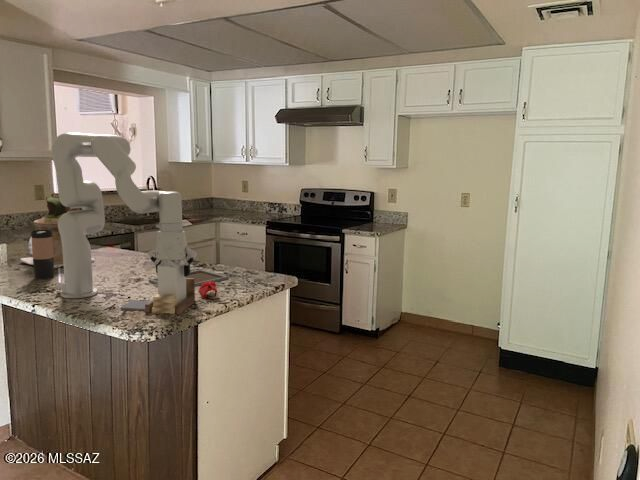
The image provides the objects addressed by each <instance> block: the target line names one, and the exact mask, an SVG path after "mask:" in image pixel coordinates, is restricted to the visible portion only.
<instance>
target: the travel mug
mask: <svg viewBox="0 0 640 480" xmlns="http://www.w3.org/2000/svg"><path fill="white" fill-rule="evenodd" d="M30 234H31V250H32V257H33V264H34V265H33V272H34V273H33V274H34V279H36V280H50V279H52V278H54V277H55V268H54V256H53V242H52V231H51V230H31V232H30Z"/></svg>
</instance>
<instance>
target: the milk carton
mask: <svg viewBox="0 0 640 480" xmlns="http://www.w3.org/2000/svg"><path fill="white" fill-rule="evenodd" d="M166 259H167V256H166ZM166 259H165V260H162V261H161V264H159V265H158V266H157V272H158V276H157V278H158V288H157V294H166V295H176V300H179V304H180V303H181V302H182V301H183V300H185V299H186V277H185V276H184V265H185V264H184V263H183V261H182V260H180V261H170V260H169V259H167V260H166Z"/></svg>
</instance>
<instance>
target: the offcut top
mask: <svg viewBox="0 0 640 480" xmlns="http://www.w3.org/2000/svg"><path fill="white" fill-rule="evenodd" d="M152 300H153V301H154V302H162V303H173V302H174V301H176V295H166V294H158V293H157V294H155V295H154V296H153V298H152Z"/></svg>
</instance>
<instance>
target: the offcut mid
mask: <svg viewBox="0 0 640 480" xmlns="http://www.w3.org/2000/svg"><path fill="white" fill-rule="evenodd" d="M178 304H179V300H176V301H174V302H173V303H162V302H153V308H165V309H175V308H176V306H177V305H178Z"/></svg>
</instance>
